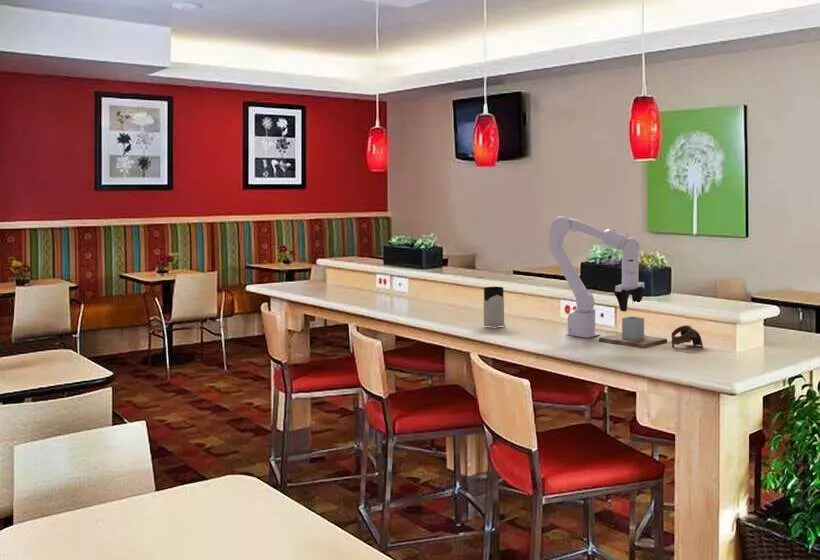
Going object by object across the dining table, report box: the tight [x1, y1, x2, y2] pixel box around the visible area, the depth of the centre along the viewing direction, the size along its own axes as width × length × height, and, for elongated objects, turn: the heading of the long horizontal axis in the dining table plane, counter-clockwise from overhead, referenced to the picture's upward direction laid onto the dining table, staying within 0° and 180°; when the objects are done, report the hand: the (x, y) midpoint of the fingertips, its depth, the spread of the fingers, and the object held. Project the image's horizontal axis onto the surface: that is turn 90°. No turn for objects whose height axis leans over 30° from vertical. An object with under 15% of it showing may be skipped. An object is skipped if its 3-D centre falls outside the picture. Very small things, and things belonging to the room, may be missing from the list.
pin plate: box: [598, 332, 668, 349], centre depth 297 cm, size 18×14×5 cm
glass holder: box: [482, 286, 506, 327], centre depth 336 cm, size 9×14×15 cm, turn 14°
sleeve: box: [621, 316, 645, 340], centre depth 297 cm, size 5×5×7 cm
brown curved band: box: [671, 324, 704, 349], centre depth 287 cm, size 12×10×8 cm
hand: (629, 309), depth 307 cm, fingers open, 7 cm apart
